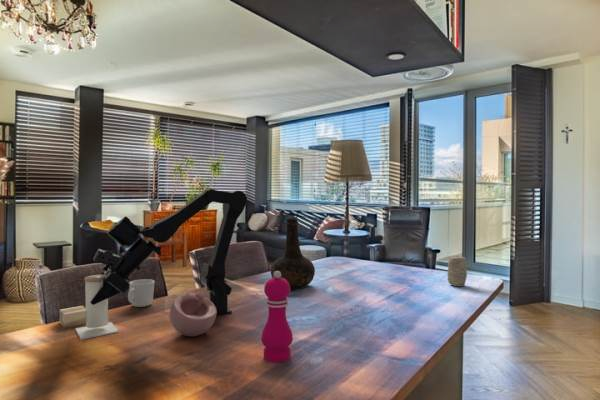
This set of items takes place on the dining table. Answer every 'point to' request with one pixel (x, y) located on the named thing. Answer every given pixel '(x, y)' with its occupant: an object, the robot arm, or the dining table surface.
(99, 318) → the tumbler
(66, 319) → the oak block
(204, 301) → the mortar and pestle
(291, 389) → the dining table surface
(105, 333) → the mat
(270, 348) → the pepper mill
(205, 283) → the robot arm
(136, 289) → the cup
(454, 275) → the carving
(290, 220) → the dark brown vase
